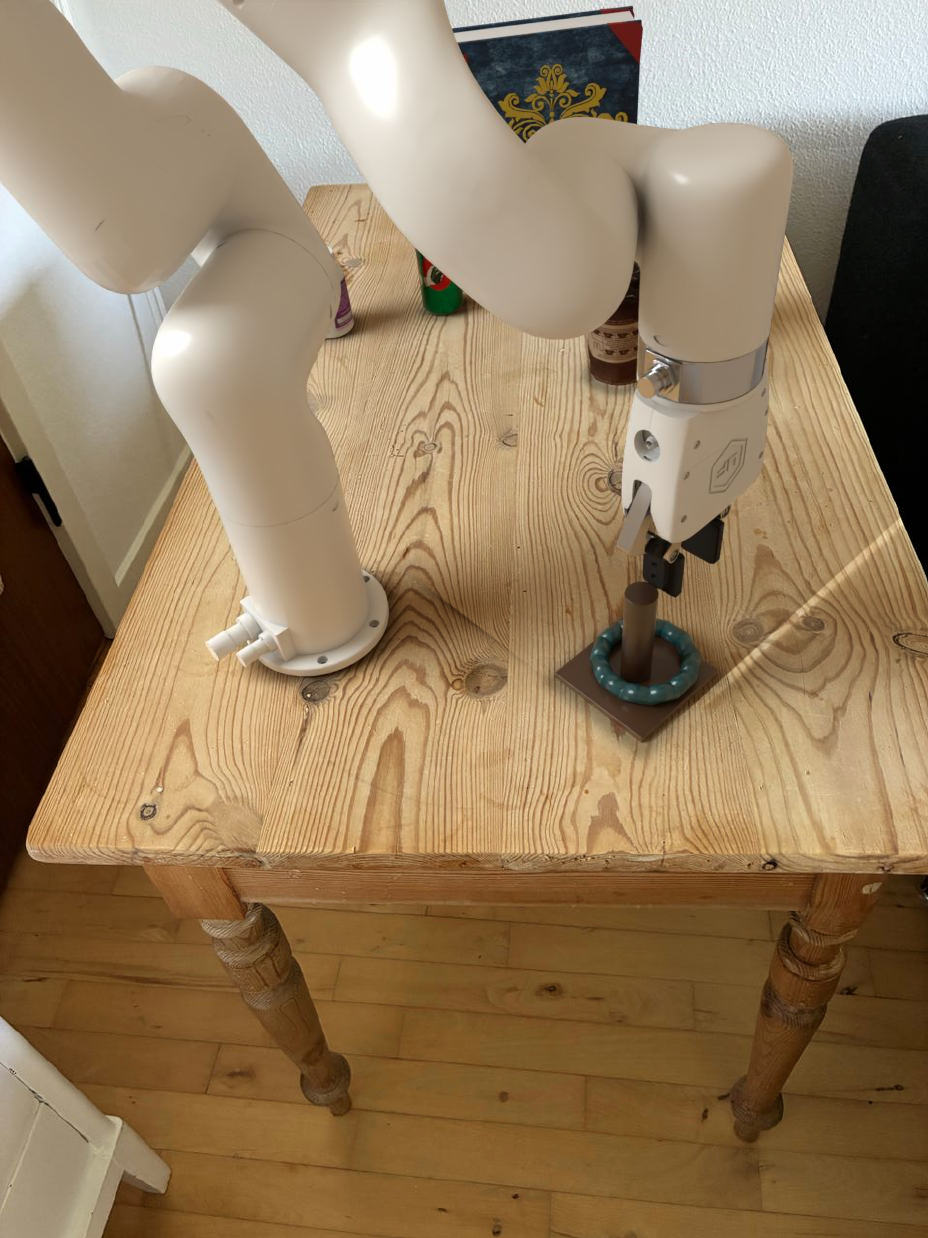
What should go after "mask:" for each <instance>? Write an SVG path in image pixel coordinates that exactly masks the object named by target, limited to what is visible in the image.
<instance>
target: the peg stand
mask: <svg viewBox="0 0 928 1238" xmlns="http://www.w3.org/2000/svg"><path fill="white" fill-rule="evenodd" d="M659 595H660V594H659V589H657V588H656V587H655V586H654V585H652V584H650V583H648V582H647V581H635V582H632V583H630V584H629V585H628V586H626V588H625V590H624V598H623V615H622V616H623V617H622V618H621V619H619V621H621V620H623V631H622V639H621V640H620V641H619V642H617V643H616V644H615V645H614V646H613V647H612V648H611V651H610V655H609V658H608V661H609V663H610V665H611V668H612V670H613V672H614V673H615V674H616V675H618V676H619V677H621V678H622V679H624V680H625V681H626V682H628V683H631V684H637V685H642V686H648V687H650V686H654V685H659V684H663V683H667V682H669V681H670V680H671V679H672V678H673V677H675V676H676V675H677V674H678V673H679V672H680V669H681V664H682V657H681V655H680V653H679V651H678V649H677V647H676V646H674V645H673V644H671V643H670V642H668V641H667V640H665V639H664V638H662V637H659V636H655V628H656V618H657V617H658V606H659V598H660V597H659ZM594 642H595V640H594V641H592V642H591V643H590V644H589V645H587V646H586V647H585V648H584V649H582V650H581V651H580V652H579V653H578V654H576V655H575V656H574V657H572V658H571V659H570V660H569V661H568V662H566V663H565V664H564V665H563V666H562V667H560V668H559V669H558V670H557V671H555V672H554V678H555V679H556V680H558V681H559V682H560V683H562V684H563V685H564V686H565V687H566V688H568V689H569V690H571V691H572V692H574V693H575V694H576V695H578V697H580V698H582V699H583V700H584V701H586V702H587V703H588V704H589V705H591V706H592V707H593V708H595V710H598V711H599V712H600V713H601V714H602V715H604V716H605V717H607V718H608V719H609V720H611V721H612V722H613V723H615V724H616V725H617V726H619V727H620V728H621V729H623V730H624V731H625V732H627V734H629V735H630V736H632V737H633V738H635V739H636V740H637V741H638V742H640V743H643V742H644V741H645V740H646V739H648V738H649V737H650V736H651V735H652V734H653V733H654V732H655V731H657V729H659V728H660V727H661V726H662V725H663V724H664V723H665V722H667V720H668V719H670V718H671V717H672V716H673V715H674V714H675V713H676V712H677V711H679V709H681V708H682V707H683V706H684V705H685V704H687V702H688V701H690V700H691V699H692V698H693V697H694V696H696V694H697V693H699V692H700V691H701V690H702V689H703V688H705V686H706V685H707V684H709V682H711V681H712V680H713V679H714V678H715V677H716V676H718V671H719V670H718V669H717V668H716V667H713V666H712V665H711V664H709V663H708V662H706V661H705V660H703V659H702V658H701V663H700V669H699V674H698V679H697V681H696V683H695V684H694V685H692V686H691V687H690V688H689V689H688V690H687V691H686V692H685V693H684V694H683V695H681V696H680V697H679V698H678V699H675V700H671V701H667V702H663V703H659V704H654V705H644V704H638V703H633V702H628V701H623V700H620V699H619V698H617V697H616V696H615V695H613V694H612V693H610V692H609V691H608V690H606V689H605V688H604V687H602V686H601V685H600V684H599V683H598V681H597V678H596V676H595V674H594V671H593V669H592V666H591V664H590V656H591V653H592V649H593V646H594Z"/></svg>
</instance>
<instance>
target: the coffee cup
mask: <svg viewBox="0 0 928 1238" xmlns="http://www.w3.org/2000/svg"><path fill="white" fill-rule="evenodd" d="M639 293H640V267H639V265H638V263H637V262H636V261H634V266H633V272H632V276H631V281H630V284H629V287H628V290H627V292H626V295H625V297H624V299H623V300H622V302H621V304H620V305H619V307H618V309H617V310H616V311H615V312H614V313H613V315H612V316H611V317H610V318H609V319H608V320H607V321H606V322H605V323H604V324H602V325H601V326H600V327H598V328H597V329H595V330H594V331H592V332H589V333H587V334H586V342H587V353H588V359H589V372H590V374H591V375H592V376H593V378H594V379H595V380H596V381H598V382H600V383H602V384H606V385H610V386H615V387H616V386H618V387H620V386H627V385H632V384H634V383H637V354H638V320H639Z"/></svg>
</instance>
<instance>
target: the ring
mask: <svg viewBox="0 0 928 1238" xmlns="http://www.w3.org/2000/svg"><path fill="white" fill-rule="evenodd" d="M620 620H621V619H620ZM620 620H617V621H614V622H613V623H612V624H610V625H609V626H608V627H607V628H606V629H605V630H603V631H602V632H600V633H599V634H598V635H597V636H596V638H595V639H594V641H595V642H594V641H593V642H594V646H593V649H592V653H591V656H590V664H591V666H592V669H593V671H594V674H595V676H596V678H597V681H598V683H599V684H600V685H601V686H602V687H604V688H605V689H606V690H608V691H609V692H610V693H612V694H613V695H615V696H616V697H617V698H619V699H620V700H623V701H628V702H633V703H638V704H644V705H654V704H659V703H663V702H667V701H671V700H675V699H678V698H679V697H680V696H681V695H683V694H684V693H685V692H686V691H687V690H688V689H689V688H690V687H691V686H692V685H694V684H695V683H696V681H697V679H698V674H699V669H700V663H701V659H702V654H701V653H700V651H699V649H698V647H697V645H696V643H695V641H694V639H693V637H692V635H691V634H689V632H687V631H685V630H684V629H683V628H681V627H679V626H677V625H676V624H674V623H673V622H671V621H670V620H667V619H663V618H657V617H656V628H655V636H659V637H662V638H664V639H665V640H667V641H668V642H670V643H671V644H673V645H674V646H676V647H677V649H678V651H679V653H680V655H681V657H682V664H681V669H680V672H679V673H678V674H677V675H676V676H675V677H673V678H672V679H671V680H670V681H669V682H667V683H663V684H659V685H654V686H650V687H648V686H642V685H637V684H631V683H628V682H626V681H625V680H624V679H622V678H621V677H619V676H618V675H616V674H615V673H614V672H613V670H612V668H611V665H610V663H609V661H608V658H609V655H610V651H611V648H612V647H613V646H614V645H615V644H616V643H617V642H619V641H620V640H621V639H622V631H623V620H621V621H620Z"/></svg>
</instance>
